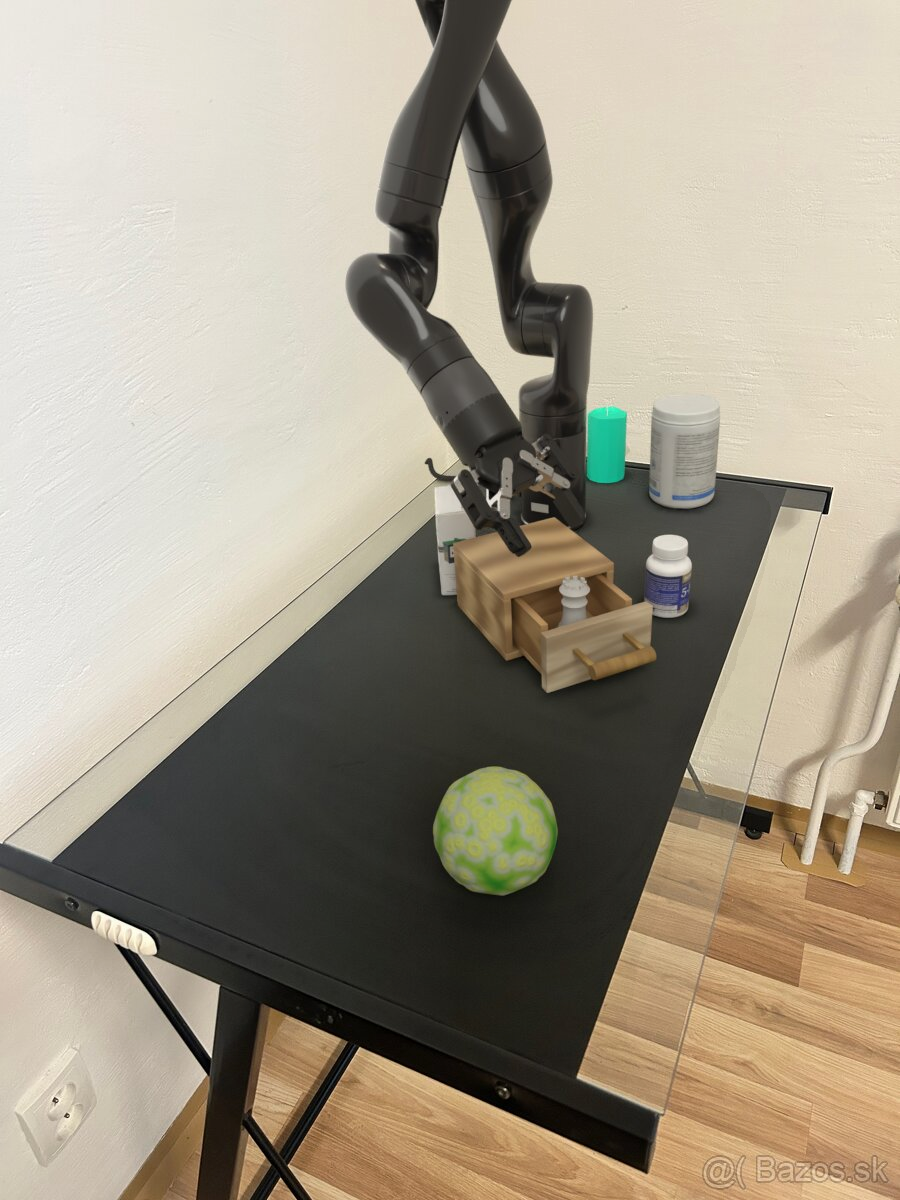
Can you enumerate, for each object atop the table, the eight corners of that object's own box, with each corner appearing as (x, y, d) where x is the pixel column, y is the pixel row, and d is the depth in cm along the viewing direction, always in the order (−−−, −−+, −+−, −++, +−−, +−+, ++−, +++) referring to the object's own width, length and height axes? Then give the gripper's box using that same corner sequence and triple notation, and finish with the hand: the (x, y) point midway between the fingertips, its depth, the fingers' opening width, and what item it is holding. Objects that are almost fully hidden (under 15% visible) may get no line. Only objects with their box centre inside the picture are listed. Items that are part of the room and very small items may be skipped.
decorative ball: (569, 915, 69) (569, 822, 64) (442, 929, 68) (432, 836, 63) (547, 823, 77) (545, 735, 72) (434, 835, 77) (424, 747, 72)
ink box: (439, 564, 120) (432, 484, 114) (475, 561, 120) (471, 481, 114) (441, 596, 112) (434, 512, 106) (480, 593, 112) (475, 509, 106)
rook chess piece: (548, 652, 96) (548, 588, 92) (560, 630, 100) (559, 568, 96) (588, 658, 95) (590, 594, 91) (598, 636, 98) (600, 574, 94)
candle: (601, 486, 138) (603, 412, 132) (579, 474, 143) (580, 402, 137) (632, 477, 140) (635, 404, 134) (609, 465, 145) (611, 394, 139)
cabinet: (612, 628, 103) (614, 562, 99) (506, 661, 99) (503, 593, 94) (554, 578, 114) (554, 516, 110) (457, 605, 110) (452, 542, 106)
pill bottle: (688, 620, 104) (694, 553, 99) (643, 618, 105) (646, 552, 100) (687, 597, 108) (693, 532, 103) (644, 595, 109) (647, 531, 105)
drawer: (677, 684, 92) (681, 628, 88) (571, 720, 88) (571, 663, 84) (589, 607, 106) (590, 556, 102) (494, 635, 102) (492, 583, 98)
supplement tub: (723, 492, 133) (732, 397, 126) (699, 516, 127) (707, 418, 119) (663, 480, 138) (668, 389, 131) (636, 503, 132) (641, 408, 124)
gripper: (436, 411, 87) (525, 548, 86) (533, 374, 95) (615, 499, 94) (406, 450, 94) (489, 577, 92) (500, 412, 102) (577, 529, 100)
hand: (553, 538), depth 93 cm, fingers open, 8 cm apart
